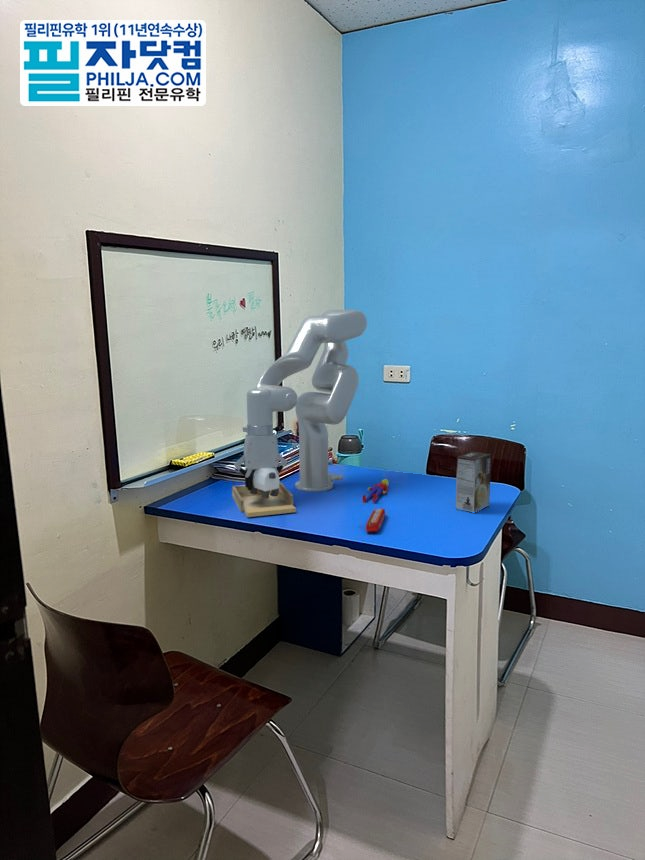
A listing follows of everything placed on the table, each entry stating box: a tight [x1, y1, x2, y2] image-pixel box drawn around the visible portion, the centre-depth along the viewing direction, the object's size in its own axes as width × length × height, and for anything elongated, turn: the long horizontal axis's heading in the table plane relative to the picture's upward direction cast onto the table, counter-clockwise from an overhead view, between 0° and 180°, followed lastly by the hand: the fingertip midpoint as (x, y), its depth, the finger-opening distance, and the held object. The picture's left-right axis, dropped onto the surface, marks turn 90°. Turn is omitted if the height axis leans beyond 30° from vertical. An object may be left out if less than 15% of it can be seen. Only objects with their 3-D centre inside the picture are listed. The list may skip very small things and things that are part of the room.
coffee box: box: [455, 451, 492, 513], centre depth 184 cm, size 9×6×16 cm
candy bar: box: [365, 508, 386, 534], centre depth 173 cm, size 16×4×3 cm, turn 167°
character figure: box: [362, 478, 390, 503], centre depth 200 cm, size 6×4×20 cm
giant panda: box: [244, 466, 281, 499], centre depth 190 cm, size 15×6×10 cm, turn 40°
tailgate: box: [244, 504, 297, 518], centre depth 181 cm, size 14×1×4 cm
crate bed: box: [231, 481, 294, 513], centre depth 192 cm, size 16×16×4 cm
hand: (261, 487), depth 191 cm, fingers closed on giant panda, 7 cm apart
